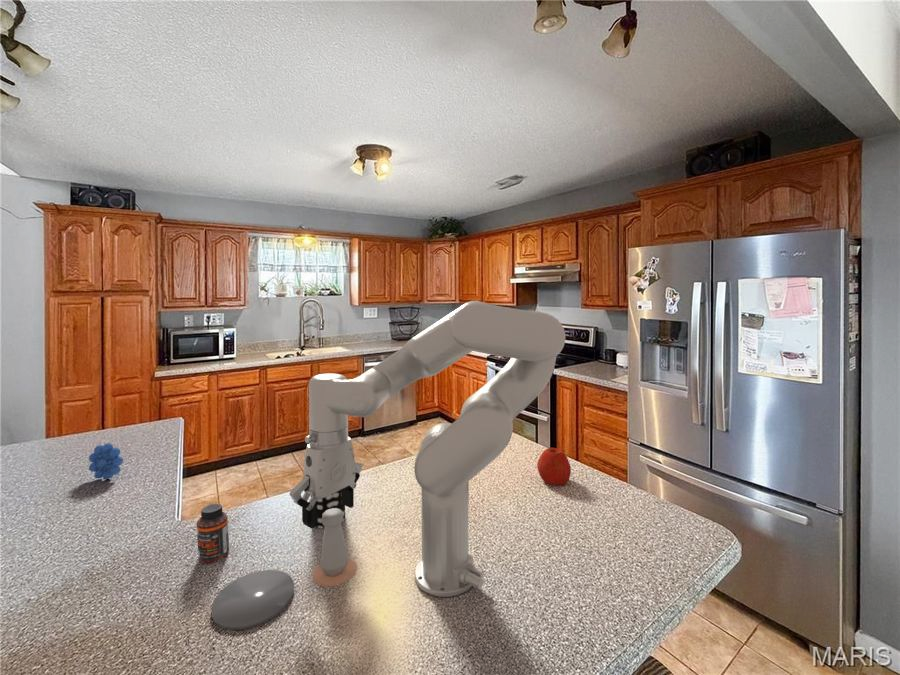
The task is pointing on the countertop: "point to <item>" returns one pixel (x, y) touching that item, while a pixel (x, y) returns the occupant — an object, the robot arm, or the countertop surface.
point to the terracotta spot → (325, 580)
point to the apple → (554, 467)
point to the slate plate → (252, 599)
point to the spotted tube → (328, 506)
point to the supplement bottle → (212, 534)
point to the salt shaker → (333, 543)
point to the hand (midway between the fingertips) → (329, 515)
